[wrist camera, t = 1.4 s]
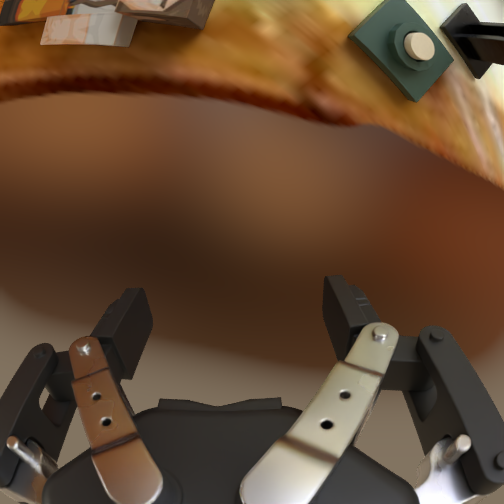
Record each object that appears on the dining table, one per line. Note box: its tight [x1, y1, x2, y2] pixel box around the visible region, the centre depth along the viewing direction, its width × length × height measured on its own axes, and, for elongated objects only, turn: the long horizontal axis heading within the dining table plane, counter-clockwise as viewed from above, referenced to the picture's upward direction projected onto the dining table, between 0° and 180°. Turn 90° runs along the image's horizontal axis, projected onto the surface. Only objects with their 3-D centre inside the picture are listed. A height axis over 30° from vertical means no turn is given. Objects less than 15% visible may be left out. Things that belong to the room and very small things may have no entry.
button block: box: [348, 0, 454, 103], centre depth 25 cm, size 12×10×4 cm
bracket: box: [440, 3, 504, 79], centre depth 18 cm, size 10×8×13 cm
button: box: [404, 33, 435, 60], centre depth 23 cm, size 4×4×2 cm
